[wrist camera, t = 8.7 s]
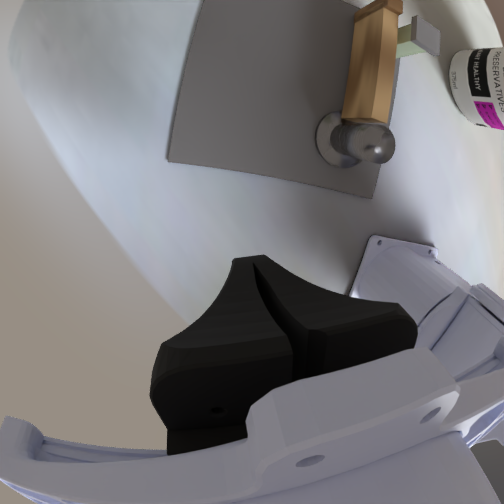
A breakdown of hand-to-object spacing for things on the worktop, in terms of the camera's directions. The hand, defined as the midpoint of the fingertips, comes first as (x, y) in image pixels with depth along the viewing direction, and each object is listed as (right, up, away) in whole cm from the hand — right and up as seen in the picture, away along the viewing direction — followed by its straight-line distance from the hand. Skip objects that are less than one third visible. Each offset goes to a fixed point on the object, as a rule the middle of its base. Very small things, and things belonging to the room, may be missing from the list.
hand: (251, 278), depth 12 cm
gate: (+8, +15, +5) cm, 18 cm away
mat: (+4, +14, +5) cm, 15 cm away
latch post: (+11, +17, +5) cm, 21 cm away
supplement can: (+22, +18, +7) cm, 29 cm away
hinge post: (+7, +10, +8) cm, 14 cm away
